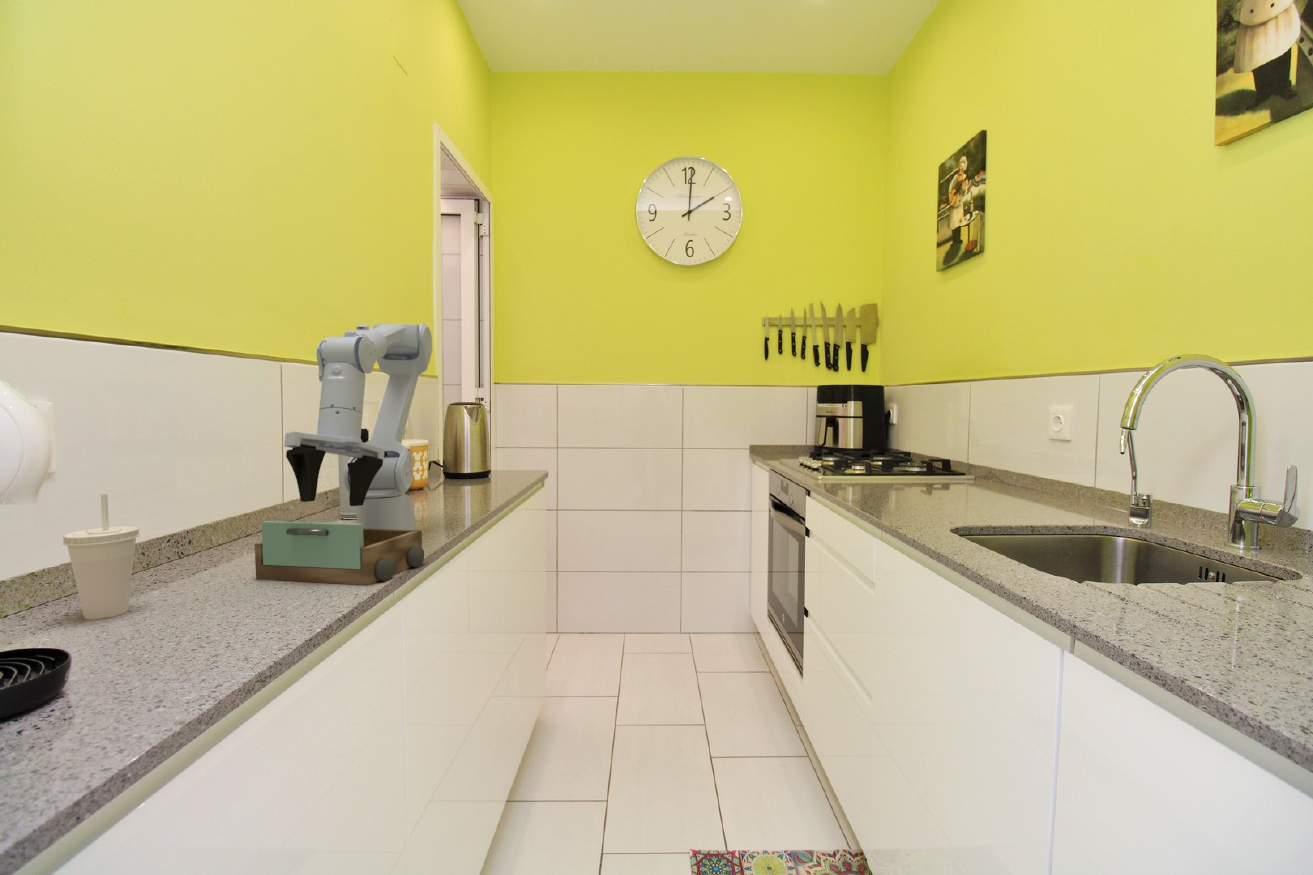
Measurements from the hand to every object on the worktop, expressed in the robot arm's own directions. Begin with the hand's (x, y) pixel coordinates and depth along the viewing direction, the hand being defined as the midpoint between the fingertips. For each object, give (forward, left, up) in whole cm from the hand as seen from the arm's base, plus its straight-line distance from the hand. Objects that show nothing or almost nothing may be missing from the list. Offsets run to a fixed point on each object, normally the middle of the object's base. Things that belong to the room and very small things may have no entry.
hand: (332, 503), depth 83 cm
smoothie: (+20, -14, -10) cm, 26 cm away
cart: (-1, 0, -10) cm, 10 cm away
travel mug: (-41, -30, -10) cm, 52 cm away
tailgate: (+5, 0, -8) cm, 9 cm away
